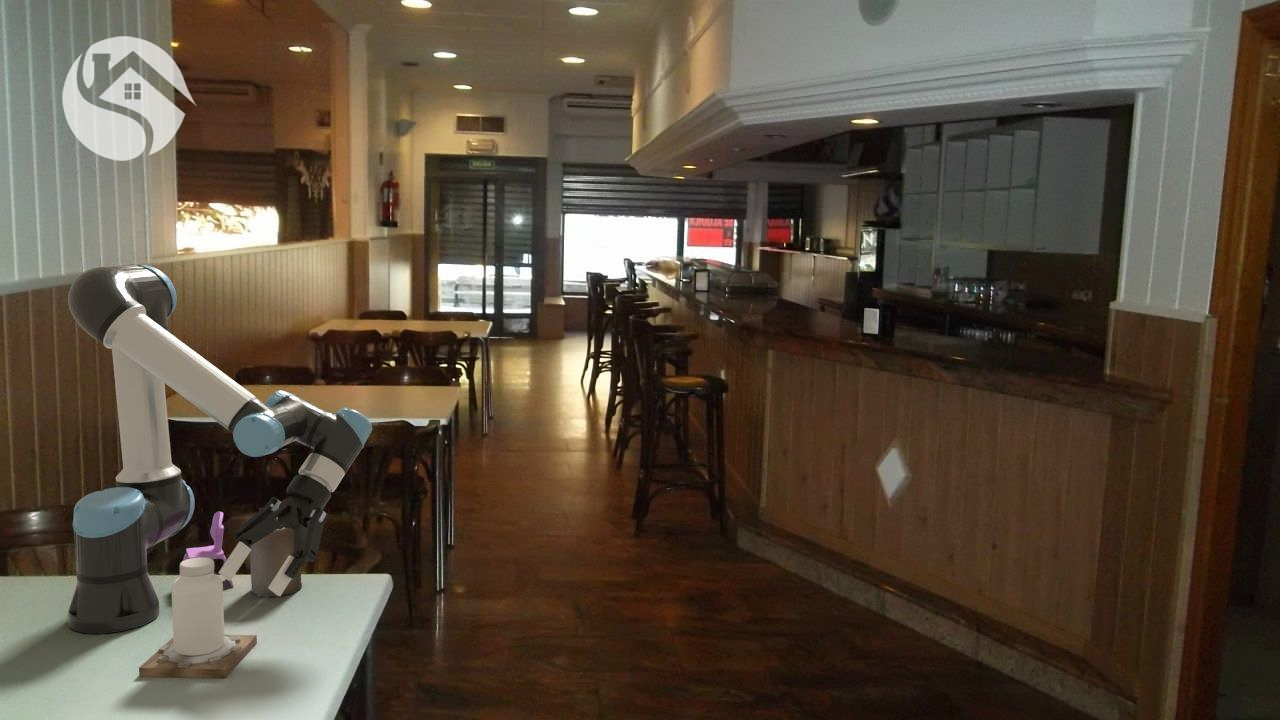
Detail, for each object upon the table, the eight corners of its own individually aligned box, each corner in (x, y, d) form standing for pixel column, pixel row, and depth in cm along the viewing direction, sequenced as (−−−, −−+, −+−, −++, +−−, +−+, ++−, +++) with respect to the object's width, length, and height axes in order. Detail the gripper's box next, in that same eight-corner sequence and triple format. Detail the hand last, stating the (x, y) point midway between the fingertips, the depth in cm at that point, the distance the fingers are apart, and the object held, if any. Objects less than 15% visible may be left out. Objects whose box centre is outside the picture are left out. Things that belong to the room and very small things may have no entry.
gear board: (139, 676, 170) (138, 664, 169) (177, 641, 184) (176, 630, 183) (225, 678, 170) (225, 666, 169) (256, 643, 184) (256, 632, 183)
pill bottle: (235, 645, 178) (231, 560, 176) (192, 661, 171) (189, 573, 169) (206, 634, 182) (202, 551, 180) (163, 650, 175) (159, 563, 173)
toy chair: (183, 582, 213) (180, 511, 211) (229, 576, 217) (226, 506, 215) (187, 596, 206) (184, 522, 204) (234, 589, 210) (232, 516, 208)
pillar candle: (310, 582, 214) (308, 511, 212) (286, 599, 205) (284, 525, 203) (266, 579, 216) (264, 509, 214) (241, 595, 206) (238, 522, 204)
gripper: (373, 505, 190) (308, 609, 179) (282, 484, 203) (218, 580, 193) (349, 482, 185) (282, 588, 174) (259, 463, 198) (191, 560, 188)
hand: (248, 584), depth 184 cm, fingers open, 13 cm apart
